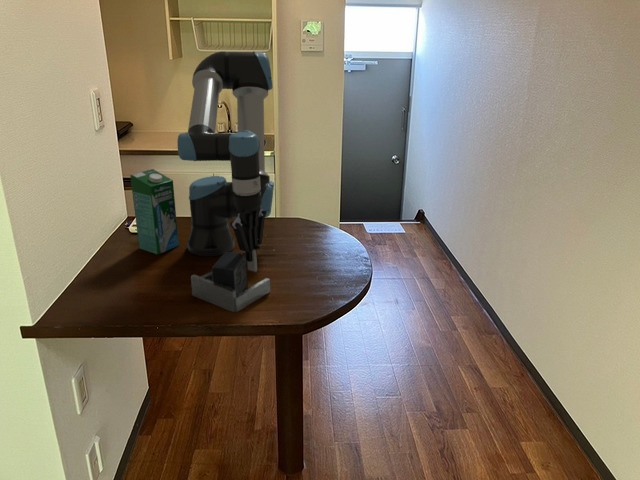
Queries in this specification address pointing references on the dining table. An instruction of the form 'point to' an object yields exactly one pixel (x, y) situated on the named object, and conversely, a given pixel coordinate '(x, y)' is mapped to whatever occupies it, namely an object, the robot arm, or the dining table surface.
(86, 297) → the dining table surface
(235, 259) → the small box
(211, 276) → the grey u-shaped bracket
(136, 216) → the milk carton
